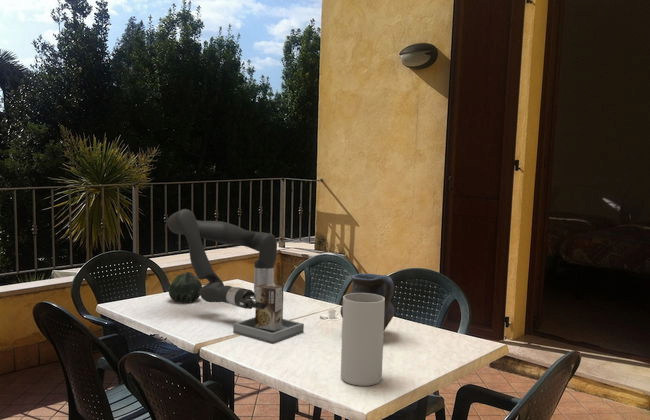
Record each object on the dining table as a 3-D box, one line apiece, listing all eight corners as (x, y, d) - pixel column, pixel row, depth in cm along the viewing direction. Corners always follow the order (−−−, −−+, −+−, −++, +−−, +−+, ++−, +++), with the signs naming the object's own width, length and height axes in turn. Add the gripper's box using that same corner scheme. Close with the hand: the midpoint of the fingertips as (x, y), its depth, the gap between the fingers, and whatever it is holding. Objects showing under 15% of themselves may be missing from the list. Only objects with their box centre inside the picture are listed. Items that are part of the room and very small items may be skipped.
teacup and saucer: (317, 319, 227) (317, 310, 226) (324, 315, 234) (325, 306, 234) (336, 322, 223) (337, 312, 223) (343, 317, 231) (343, 308, 231)
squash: (173, 285, 259) (170, 265, 248) (204, 286, 261) (203, 267, 250) (168, 309, 249) (165, 290, 238) (200, 311, 251) (199, 292, 240)
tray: (265, 322, 218) (265, 314, 218) (303, 332, 207) (303, 323, 206) (233, 332, 204) (233, 323, 204) (272, 343, 192) (272, 334, 192)
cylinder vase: (334, 382, 158) (337, 299, 157) (348, 368, 170) (350, 291, 168) (375, 389, 154) (378, 304, 152) (386, 374, 166) (389, 295, 164)
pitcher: (364, 325, 219) (366, 265, 217) (407, 338, 203) (410, 273, 201) (329, 335, 204) (331, 270, 202) (372, 349, 189) (374, 280, 187)
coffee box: (283, 327, 206) (284, 285, 205) (274, 331, 200) (276, 288, 199) (262, 323, 210) (264, 282, 209) (254, 327, 204) (255, 285, 203)
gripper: (227, 291, 207) (258, 298, 198) (253, 285, 219) (283, 292, 209) (227, 310, 208) (258, 318, 198) (252, 303, 220) (283, 310, 210)
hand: (271, 304), depth 204 cm, fingers closed on coffee box, 7 cm apart
